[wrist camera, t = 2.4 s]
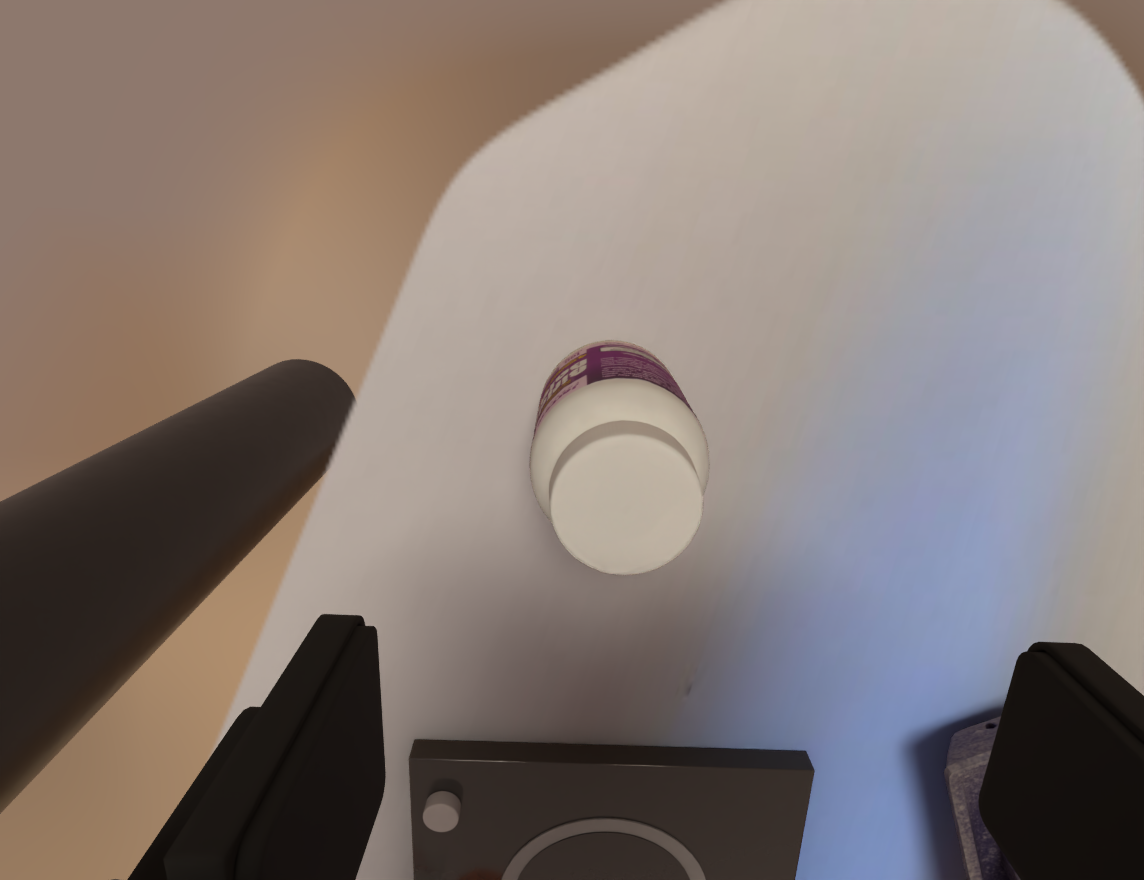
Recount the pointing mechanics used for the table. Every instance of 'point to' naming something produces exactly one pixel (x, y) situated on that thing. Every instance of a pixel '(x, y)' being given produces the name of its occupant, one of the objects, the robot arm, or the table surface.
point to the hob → (605, 812)
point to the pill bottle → (618, 459)
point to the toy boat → (974, 802)
